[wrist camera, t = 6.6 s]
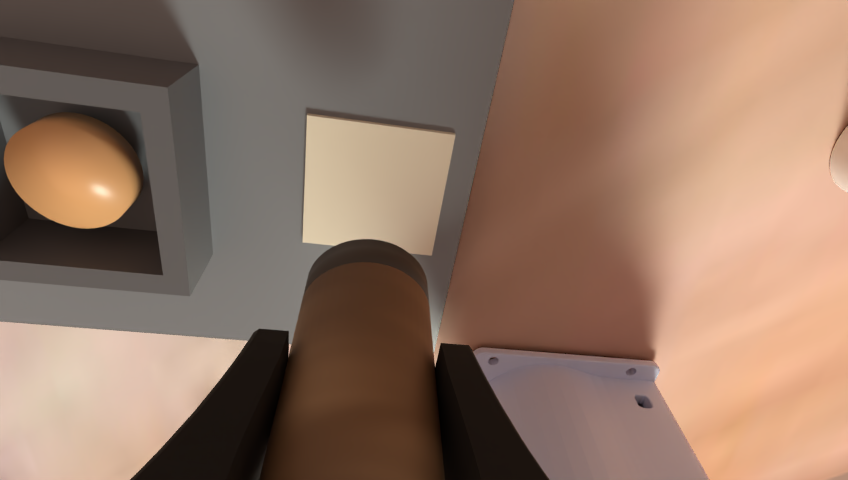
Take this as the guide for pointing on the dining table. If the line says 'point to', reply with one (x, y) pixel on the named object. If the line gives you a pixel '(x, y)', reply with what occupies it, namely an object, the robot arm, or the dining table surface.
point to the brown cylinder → (359, 373)
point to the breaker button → (74, 170)
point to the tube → (840, 161)
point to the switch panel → (244, 150)
